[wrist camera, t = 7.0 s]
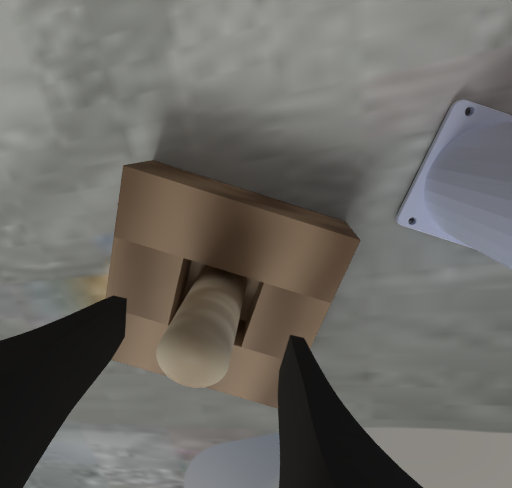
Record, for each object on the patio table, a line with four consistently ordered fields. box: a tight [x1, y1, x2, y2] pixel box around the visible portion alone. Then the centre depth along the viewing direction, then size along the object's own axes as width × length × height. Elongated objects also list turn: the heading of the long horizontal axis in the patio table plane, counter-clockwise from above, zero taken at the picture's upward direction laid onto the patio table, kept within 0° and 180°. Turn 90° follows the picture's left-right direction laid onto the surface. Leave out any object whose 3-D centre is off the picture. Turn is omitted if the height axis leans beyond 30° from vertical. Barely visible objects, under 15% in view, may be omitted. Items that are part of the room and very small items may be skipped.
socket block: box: [106, 160, 360, 408], centre depth 21 cm, size 14×14×4 cm
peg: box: [156, 265, 247, 388], centre depth 18 cm, size 4×4×8 cm
